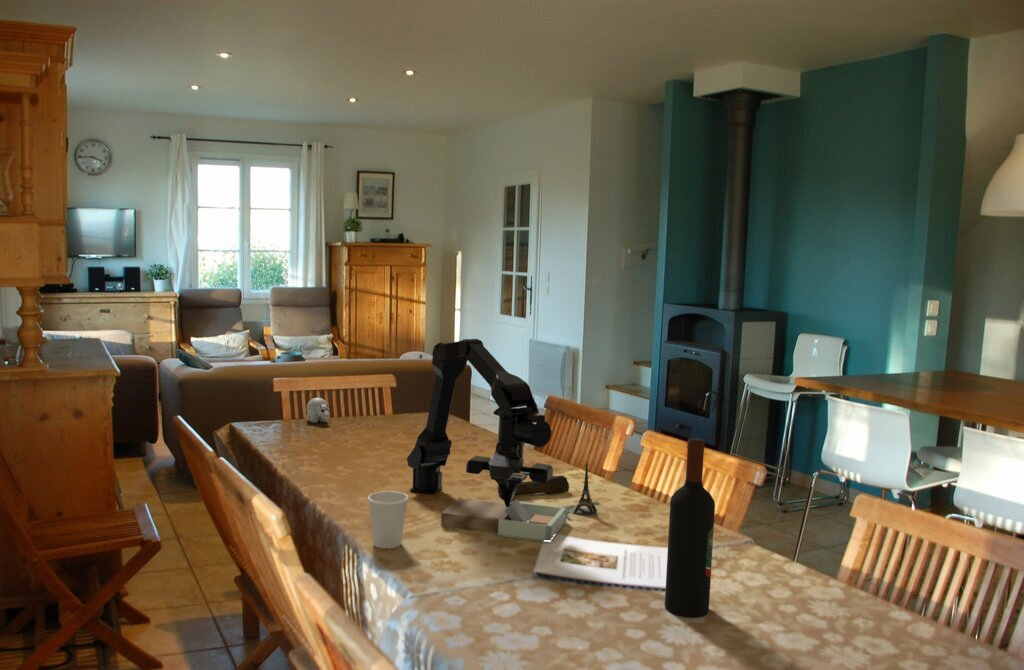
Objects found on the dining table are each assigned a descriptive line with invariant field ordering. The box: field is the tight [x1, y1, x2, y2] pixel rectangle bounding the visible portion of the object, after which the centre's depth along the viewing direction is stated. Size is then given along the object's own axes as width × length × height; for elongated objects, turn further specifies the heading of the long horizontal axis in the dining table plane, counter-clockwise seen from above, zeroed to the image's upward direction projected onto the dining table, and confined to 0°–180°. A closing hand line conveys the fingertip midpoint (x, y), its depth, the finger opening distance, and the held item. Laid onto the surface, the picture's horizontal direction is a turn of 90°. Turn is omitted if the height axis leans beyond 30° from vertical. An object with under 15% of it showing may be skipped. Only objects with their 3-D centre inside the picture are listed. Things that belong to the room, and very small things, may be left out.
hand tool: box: [497, 475, 570, 499], centre depth 216 cm, size 19×4×5 cm, turn 108°
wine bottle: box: [664, 437, 716, 619], centre depth 148 cm, size 8×8×30 cm
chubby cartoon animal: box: [306, 397, 331, 424], centre depth 294 cm, size 7×12×8 cm, turn 34°
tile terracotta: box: [529, 515, 553, 525], centre depth 188 cm, size 5×5×2 cm
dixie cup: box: [367, 490, 409, 549], centre depth 176 cm, size 8×8×10 cm
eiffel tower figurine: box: [564, 462, 601, 521], centre depth 203 cm, size 15×10×13 cm
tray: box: [497, 501, 567, 543], centre depth 189 cm, size 12×15×4 cm
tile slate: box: [504, 498, 531, 522], centre depth 190 cm, size 5×5×2 cm
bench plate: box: [440, 498, 511, 535], centre depth 192 cm, size 14×12×3 cm
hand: (507, 506), depth 190 cm, fingers closed
